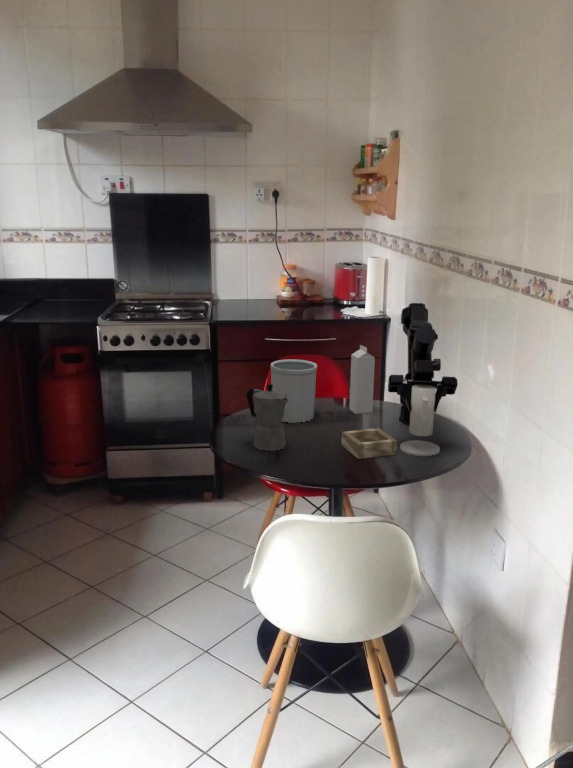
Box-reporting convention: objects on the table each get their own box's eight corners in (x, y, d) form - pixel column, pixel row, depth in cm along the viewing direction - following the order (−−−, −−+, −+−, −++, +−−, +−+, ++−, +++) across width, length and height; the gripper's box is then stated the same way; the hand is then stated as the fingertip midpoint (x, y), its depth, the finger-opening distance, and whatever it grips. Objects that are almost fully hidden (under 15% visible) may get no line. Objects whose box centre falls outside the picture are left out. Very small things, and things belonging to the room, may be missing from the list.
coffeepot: (298, 447, 189) (299, 385, 184) (275, 455, 182) (276, 391, 177) (258, 435, 198) (258, 376, 194) (235, 442, 191) (235, 381, 187)
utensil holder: (325, 417, 216) (326, 364, 212) (293, 427, 206) (294, 371, 202) (292, 407, 226) (293, 357, 222) (260, 416, 216) (260, 363, 212)
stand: (377, 441, 194) (378, 428, 193) (396, 454, 184) (396, 440, 183) (341, 445, 191) (341, 431, 190) (358, 458, 180) (358, 444, 179)
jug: (408, 428, 190) (411, 384, 187) (431, 429, 190) (434, 384, 186) (410, 439, 181) (413, 393, 178) (434, 440, 181) (438, 394, 177)
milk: (355, 414, 220) (357, 348, 215) (349, 409, 226) (351, 345, 220) (372, 413, 222) (375, 347, 216) (365, 407, 227) (368, 344, 222)
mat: (426, 441, 195) (427, 438, 195) (447, 454, 185) (447, 451, 185) (392, 445, 191) (393, 442, 191) (412, 458, 181) (412, 455, 181)
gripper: (390, 346, 186) (390, 395, 178) (459, 348, 184) (462, 398, 176) (387, 367, 195) (387, 415, 187) (453, 369, 193) (455, 417, 186)
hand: (422, 411), depth 184 cm, fingers closed on jug, 6 cm apart
